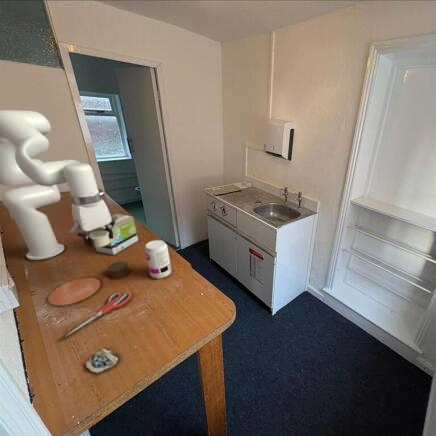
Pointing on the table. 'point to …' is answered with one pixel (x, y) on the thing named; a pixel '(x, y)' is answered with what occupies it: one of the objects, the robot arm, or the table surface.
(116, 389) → the table surface
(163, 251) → the supplement can
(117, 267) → the cylinder
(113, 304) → the scissors
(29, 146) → the robot arm
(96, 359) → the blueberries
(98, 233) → the cylinder
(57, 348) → the table surface
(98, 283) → the plate
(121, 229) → the tea box
